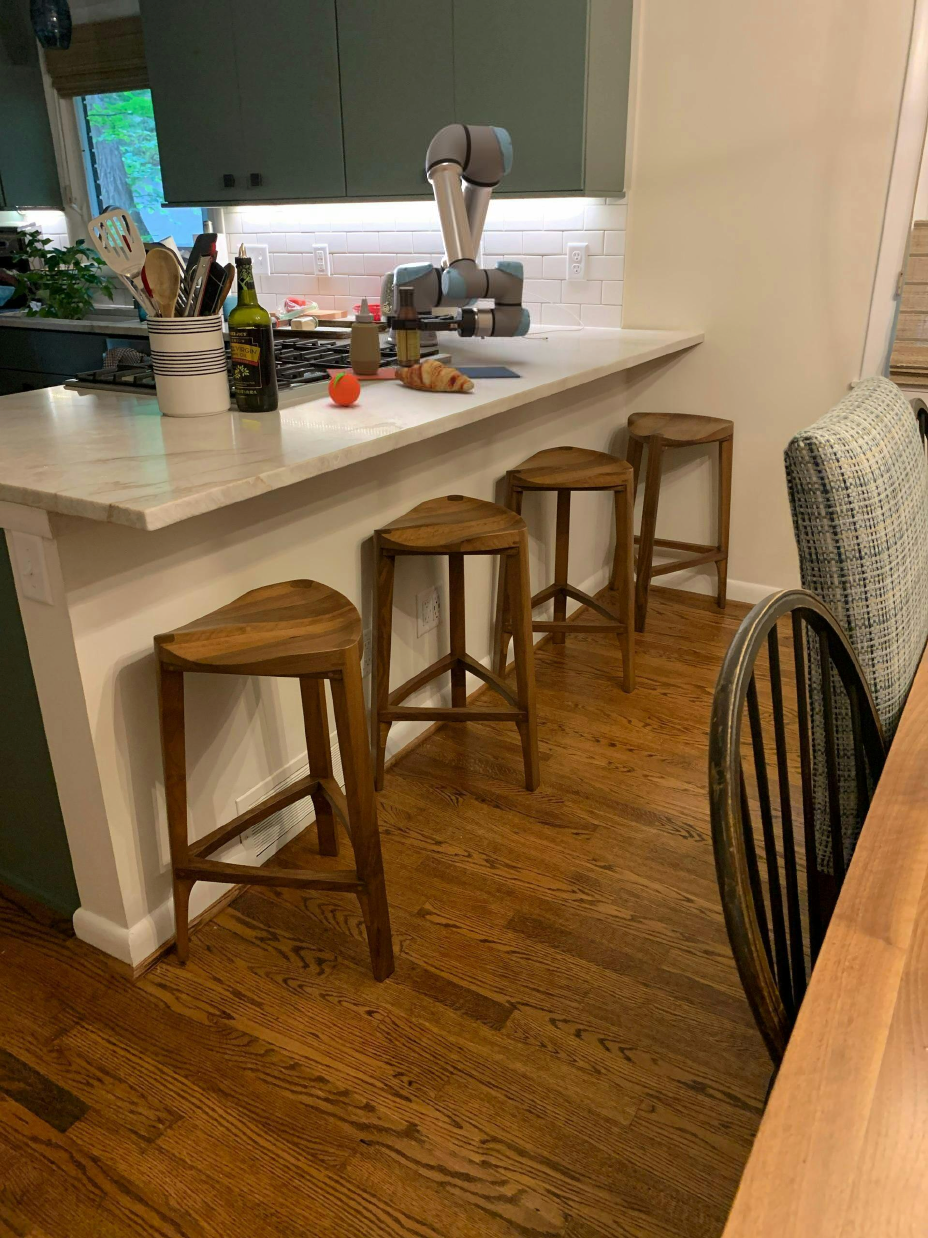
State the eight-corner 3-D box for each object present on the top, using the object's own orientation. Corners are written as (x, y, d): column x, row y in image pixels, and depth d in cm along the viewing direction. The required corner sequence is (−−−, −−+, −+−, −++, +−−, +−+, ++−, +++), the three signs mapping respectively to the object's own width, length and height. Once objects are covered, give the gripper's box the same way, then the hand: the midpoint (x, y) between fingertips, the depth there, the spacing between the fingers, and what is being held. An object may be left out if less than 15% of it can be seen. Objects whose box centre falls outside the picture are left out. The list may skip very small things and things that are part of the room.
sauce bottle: (421, 363, 255) (422, 286, 246) (418, 367, 249) (418, 289, 241) (397, 362, 255) (397, 285, 247) (394, 366, 250) (393, 288, 241)
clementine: (349, 410, 197) (349, 376, 194) (320, 407, 199) (319, 373, 196) (366, 404, 204) (365, 370, 201) (337, 400, 206) (336, 368, 203)
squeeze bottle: (343, 374, 234) (341, 298, 227) (358, 369, 241) (357, 296, 234) (372, 377, 232) (371, 301, 224) (386, 372, 238) (386, 298, 231)
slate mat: (439, 369, 248) (439, 367, 248) (503, 368, 252) (503, 366, 252) (452, 378, 236) (452, 376, 235) (519, 377, 240) (519, 375, 240)
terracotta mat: (326, 370, 240) (326, 369, 240) (394, 369, 245) (394, 368, 245) (333, 380, 228) (333, 378, 228) (405, 379, 233) (405, 377, 232)
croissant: (477, 405, 222) (485, 373, 222) (463, 391, 213) (471, 357, 213) (399, 394, 230) (407, 362, 230) (382, 380, 220) (390, 347, 220)
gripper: (482, 342, 245) (396, 342, 240) (463, 332, 262) (382, 332, 256) (483, 312, 242) (396, 312, 236) (464, 304, 259) (382, 303, 253)
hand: (389, 322), depth 246 cm, fingers closed on sauce bottle, 6 cm apart
